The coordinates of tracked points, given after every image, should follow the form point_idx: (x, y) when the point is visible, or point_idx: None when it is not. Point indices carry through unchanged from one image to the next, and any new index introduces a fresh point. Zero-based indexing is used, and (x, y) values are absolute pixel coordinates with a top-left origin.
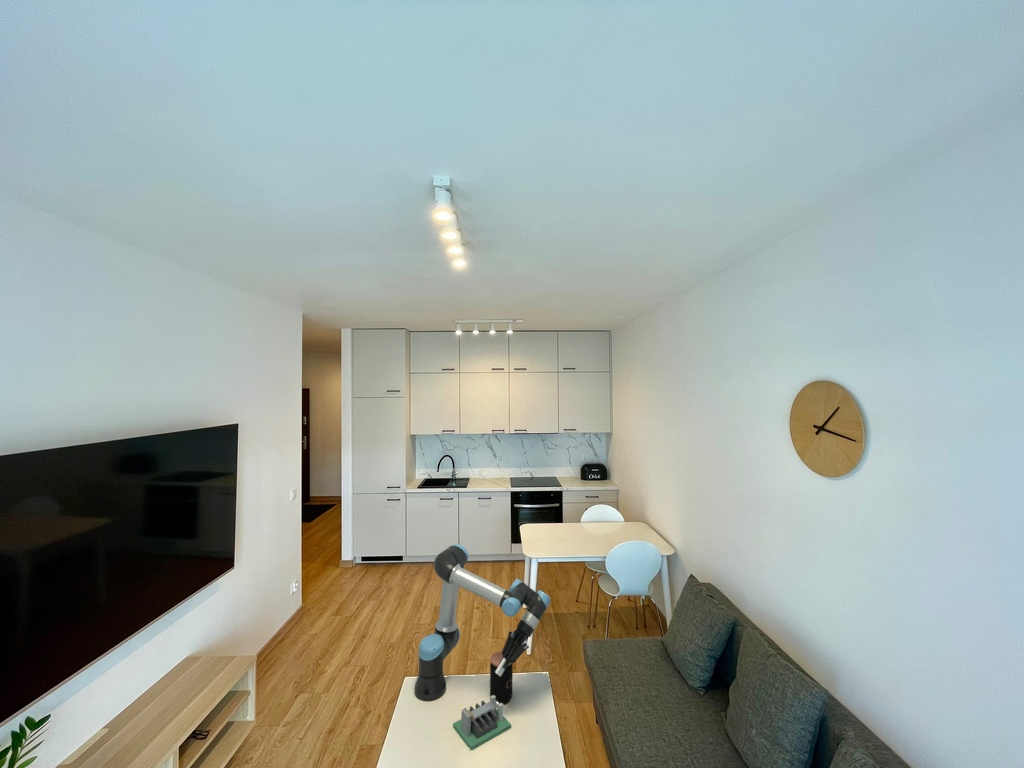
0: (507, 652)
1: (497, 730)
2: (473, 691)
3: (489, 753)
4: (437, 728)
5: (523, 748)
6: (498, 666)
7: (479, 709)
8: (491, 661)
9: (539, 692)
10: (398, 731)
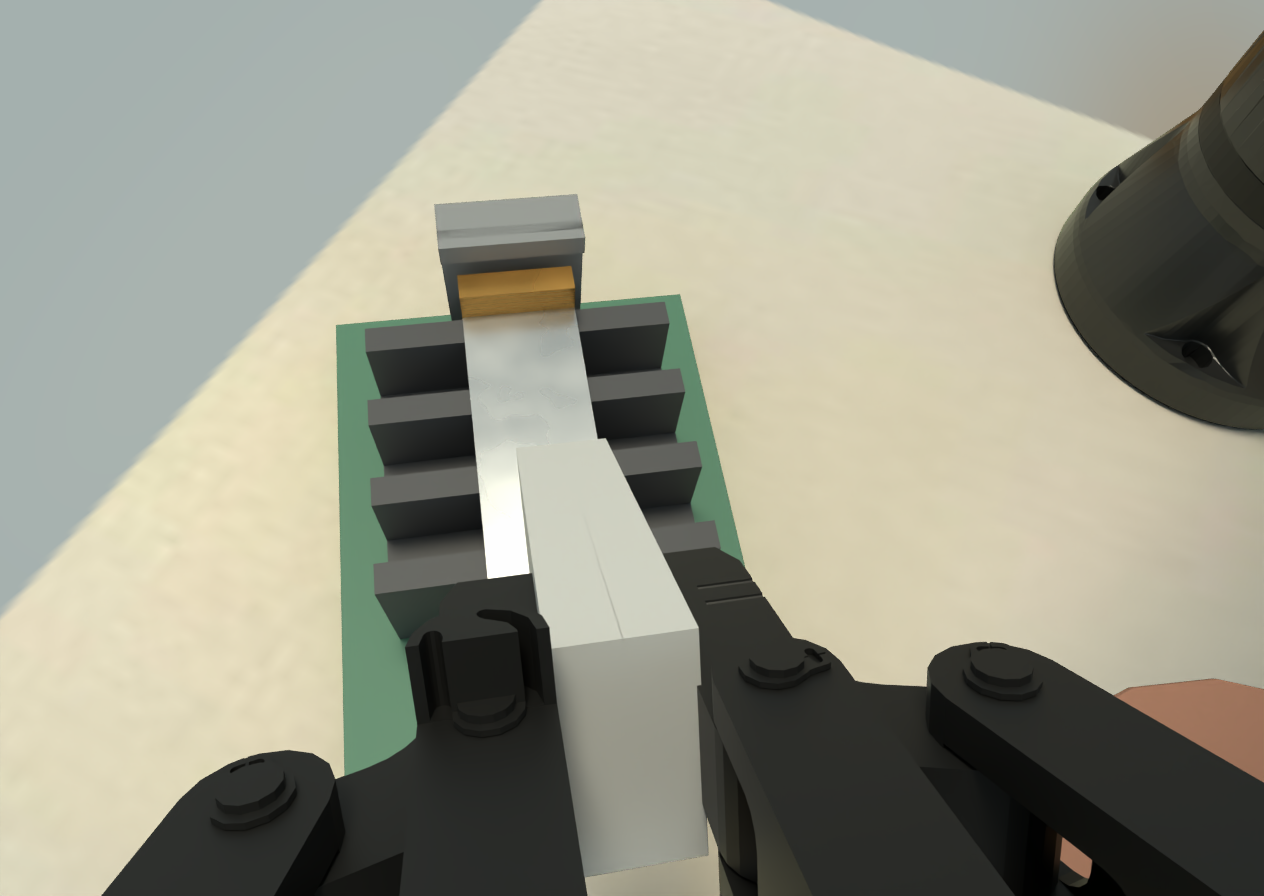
0: (786, 849)
1: (361, 627)
2: (1103, 664)
3: (211, 468)
4: (716, 216)
5: (2, 824)
6: (627, 489)
7: (556, 418)
8: (1209, 681)
9: None
10: (799, 22)
